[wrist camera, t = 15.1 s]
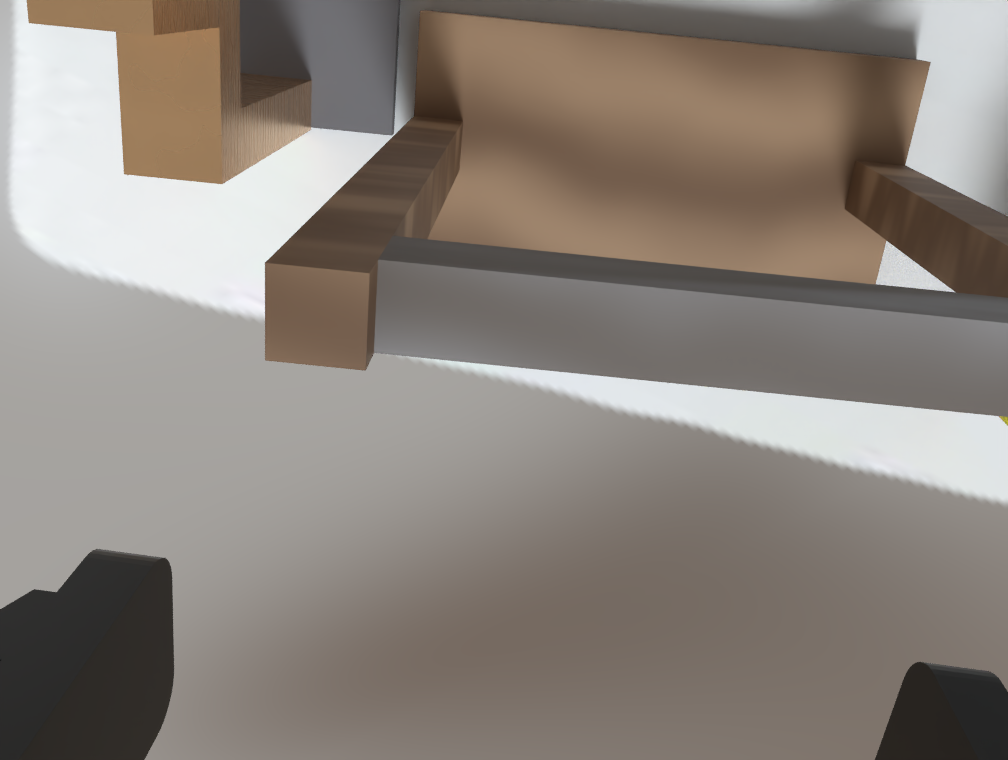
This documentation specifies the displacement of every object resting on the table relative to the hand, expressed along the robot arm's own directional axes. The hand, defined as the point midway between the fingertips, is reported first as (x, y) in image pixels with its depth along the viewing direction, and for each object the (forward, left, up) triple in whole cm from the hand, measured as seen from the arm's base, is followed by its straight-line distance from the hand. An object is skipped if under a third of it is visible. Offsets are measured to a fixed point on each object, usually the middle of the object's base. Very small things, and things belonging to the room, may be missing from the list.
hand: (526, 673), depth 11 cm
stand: (-1, +5, -33) cm, 33 cm away
